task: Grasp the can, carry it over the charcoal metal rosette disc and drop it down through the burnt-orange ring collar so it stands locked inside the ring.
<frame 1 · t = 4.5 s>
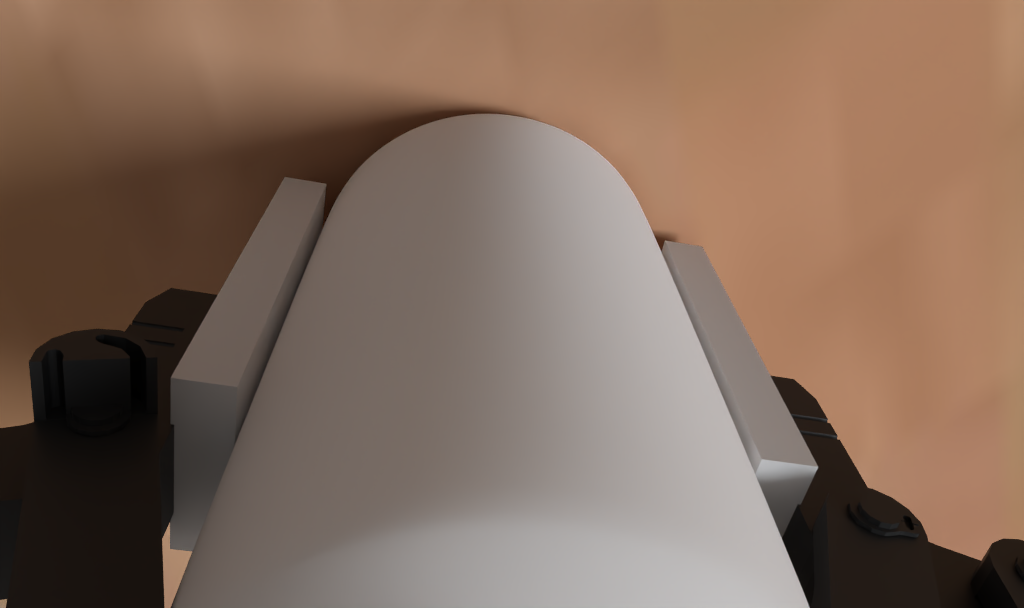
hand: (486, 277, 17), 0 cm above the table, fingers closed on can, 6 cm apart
can: (487, 261, 17), on the table, touching gripper
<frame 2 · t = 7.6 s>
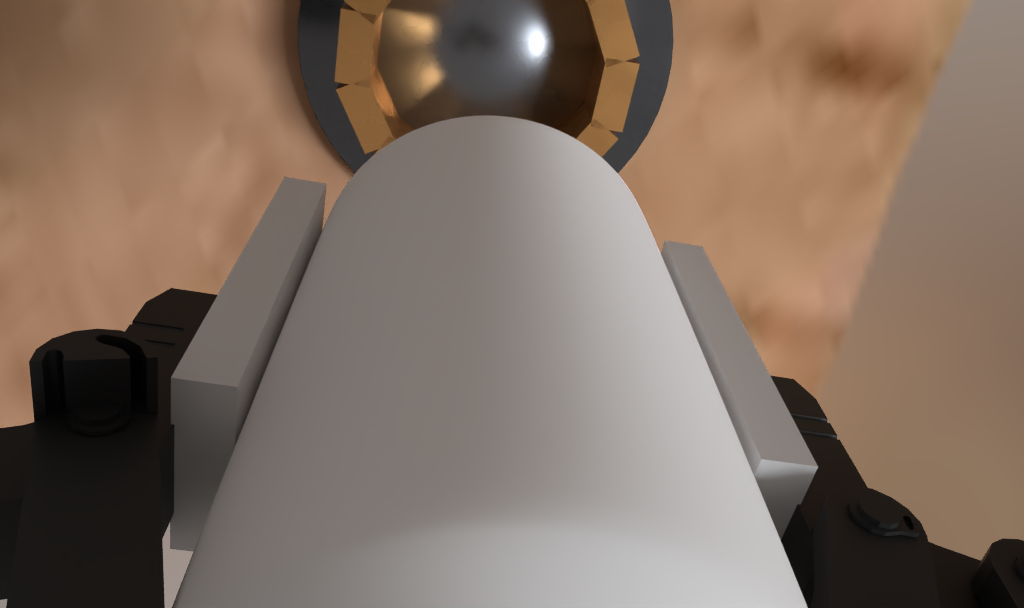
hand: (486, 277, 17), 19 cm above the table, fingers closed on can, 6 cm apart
can: (487, 262, 17), point 18 cm above the table, touching gripper
rosette: (486, 50, 33), on the table
when the fingers open (6 cm above the table, at t = 10.7 s): can drops 4 cm, point 1 cm above the table.
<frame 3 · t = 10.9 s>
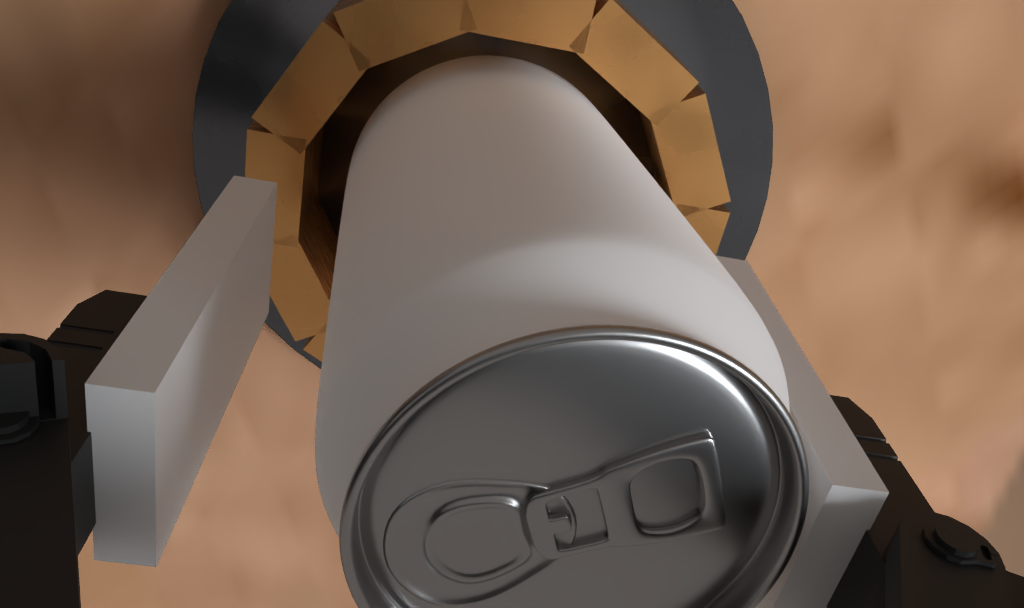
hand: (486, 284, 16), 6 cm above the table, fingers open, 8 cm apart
can: (483, 184, 21), point 1 cm above the table, touching gripper
rosette: (485, 170, 22), on the table
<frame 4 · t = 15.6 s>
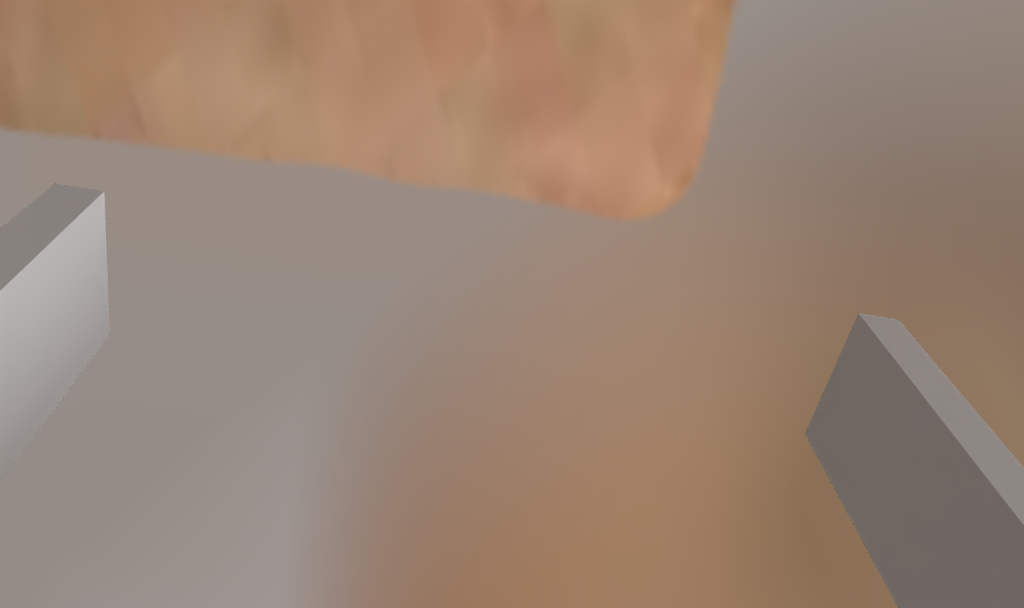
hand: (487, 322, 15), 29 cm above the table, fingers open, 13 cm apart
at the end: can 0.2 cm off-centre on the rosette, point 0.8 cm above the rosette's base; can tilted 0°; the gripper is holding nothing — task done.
